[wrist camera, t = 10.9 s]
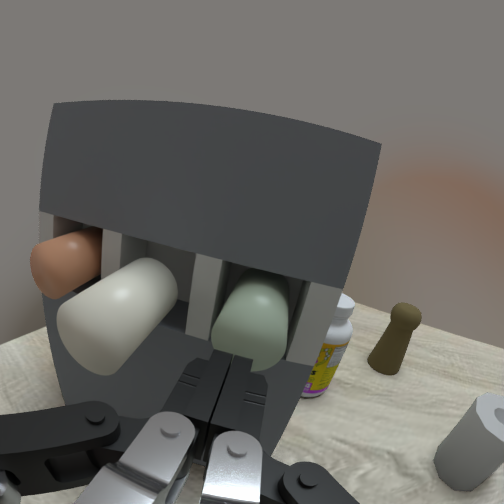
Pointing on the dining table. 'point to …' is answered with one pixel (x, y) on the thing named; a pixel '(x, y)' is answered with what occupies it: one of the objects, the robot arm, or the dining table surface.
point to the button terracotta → (67, 261)
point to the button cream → (116, 314)
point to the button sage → (255, 319)
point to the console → (205, 231)
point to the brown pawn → (395, 339)
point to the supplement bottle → (331, 349)
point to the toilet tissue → (473, 445)
